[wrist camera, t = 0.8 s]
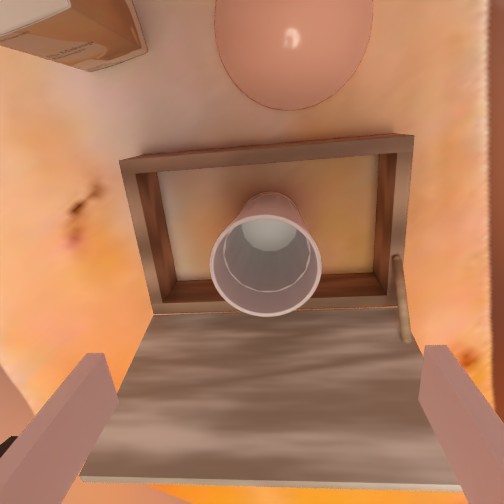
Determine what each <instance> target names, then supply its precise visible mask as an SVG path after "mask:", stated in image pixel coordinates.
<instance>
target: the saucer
mask: <svg viewBox="0 0 504 504" xmlns="http://www.w3.org/2000/svg"><path fill="white" fill-rule="evenodd" d="M372 19H373V0H217V2H216V8H215V36H216V42H217V47H218V51H219V54H220V58H221V60H222V62H223V65H224V67H225V69H226V71H227V72H228V74H229V76H230V77H231V79H232V80H233V82H234V83H235V84H236V85H237V86H238V87H239V88H240V90H241V91H242V92H244V93H245V94H246V95H247V96H249V97H250V98H251V99H253V100H254V101H256V102H258V103H260V104H262V105H264V106H267V107H270V108H274V109H279V110H298V109H304V108H307V107H310V106H313V105H316V104H318V103H320V102H322V101H324V100H325V99H327V98H329V97H330V96H332V95H333V94H334V93H335V92H337V91H338V90H339V89H340V88H341V87H342V86H343V85H344V84H345V83H346V82H347V81H348V80H349V78H350V77H351V76H352V74H353V73H354V72H355V70H356V68H357V67H358V65H359V63H360V62H361V59H362V57H363V55H364V53H365V51H366V48H367V44H368V41H369V38H370V33H371V28H372Z"/></svg>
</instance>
